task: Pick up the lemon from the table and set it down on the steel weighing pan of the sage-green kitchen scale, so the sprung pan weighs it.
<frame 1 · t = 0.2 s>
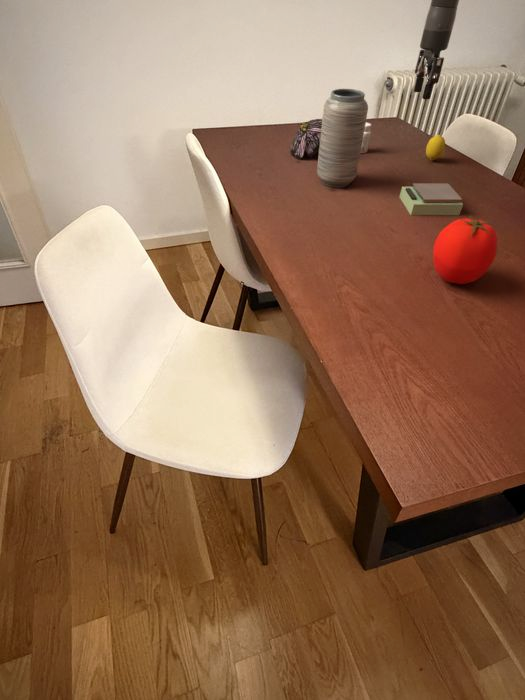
hand: (421, 95, 122), 18 cm above the table, tool pointing down, fingers open, 8 cm apart
lemon: (431, 161, 133), on the table
scale pan: (436, 192, 107), point 4 cm above the table, slide at 0.1 cm
decorative flower: (309, 154, 136), on the table
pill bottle: (360, 151, 139), on the table
vase: (335, 182, 120), on the table
scale: (428, 205, 109), on the table
tomato: (452, 278, 85), on the table
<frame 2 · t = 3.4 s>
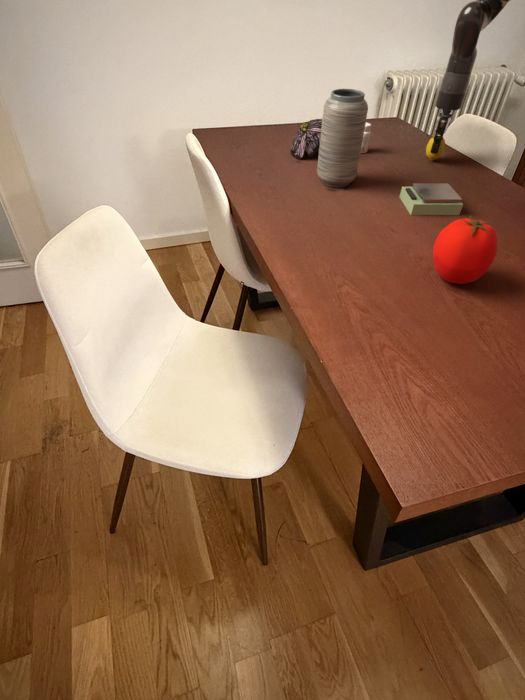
hand: (434, 149, 131), 4 cm above the table, tool pointing down, fingers closed on lemon, 5 cm apart
lemon: (431, 161, 133), on the table, touching gripper
everything else where it was.
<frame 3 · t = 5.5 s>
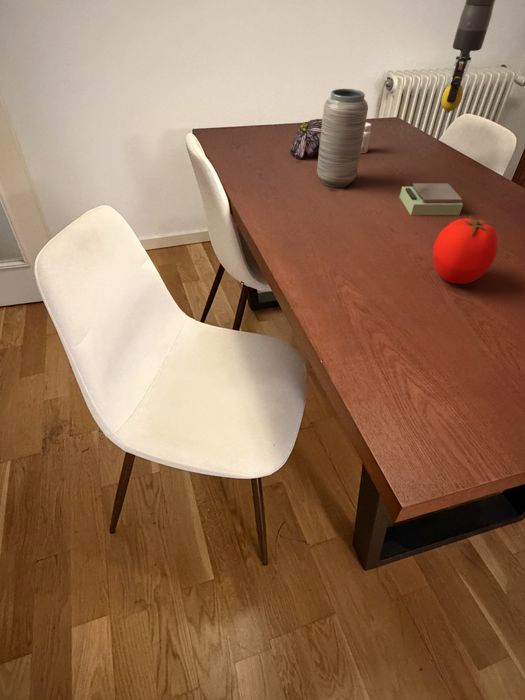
hand: (451, 99, 119), 18 cm above the table, tool pointing down, fingers closed on lemon, 5 cm apart
lemon: (447, 113, 121), point 14 cm above the table, touching gripper
everything else where it was.
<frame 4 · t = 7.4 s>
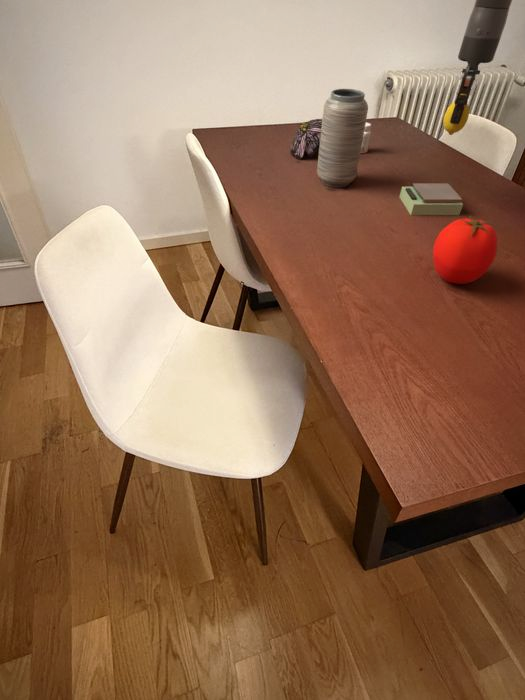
hand: (455, 119, 99), 20 cm above the table, tool pointing down, fingers closed on lemon, 5 cm apart
lemon: (450, 135, 102), point 16 cm above the table, touching gripper
everything else where it was.
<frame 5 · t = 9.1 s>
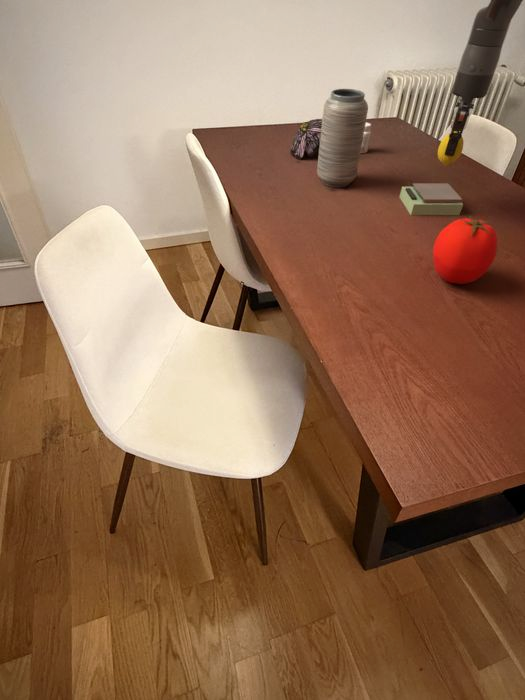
hand: (450, 151, 99), 14 cm above the table, tool pointing down, fingers closed on lemon, 5 cm apart
lemon: (444, 166, 102), point 10 cm above the table, touching gripper
everything else where it was.
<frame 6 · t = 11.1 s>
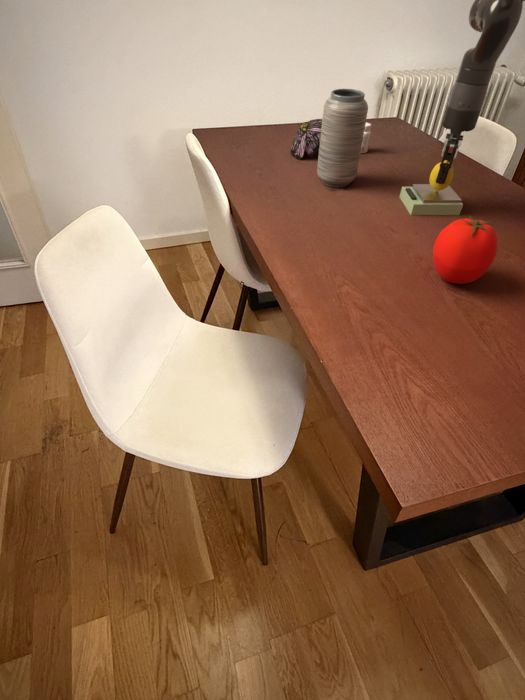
hand: (441, 178, 104), 7 cm above the table, tool pointing down, fingers closed on lemon, 5 cm apart
lemon: (436, 192, 107), point 4 cm above the table, touching gripper, scale pan
scale pan: (435, 193, 107), point 3 cm above the table, slide at -0.1 cm, touching lemon
everything else where it was.
when the fingers open (7 cm above the table, at t = 11.2 s): lemon stays where it is, resting on scale pan.
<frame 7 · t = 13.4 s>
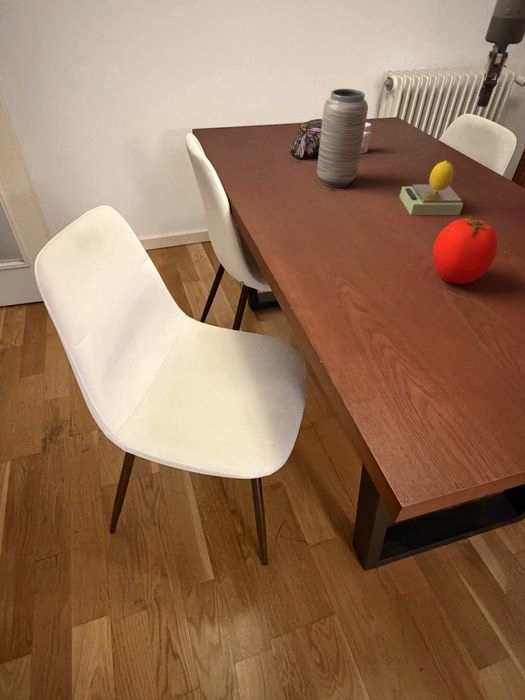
hand: (482, 101, 96), 24 cm above the table, tool pointing down, fingers open, 8 cm apart
lemon: (436, 192, 107), point 4 cm above the table, touching scale pan
scale pan: (435, 193, 107), point 3 cm above the table, slide at -0.2 cm, touching lemon, scale
everything else where it was.
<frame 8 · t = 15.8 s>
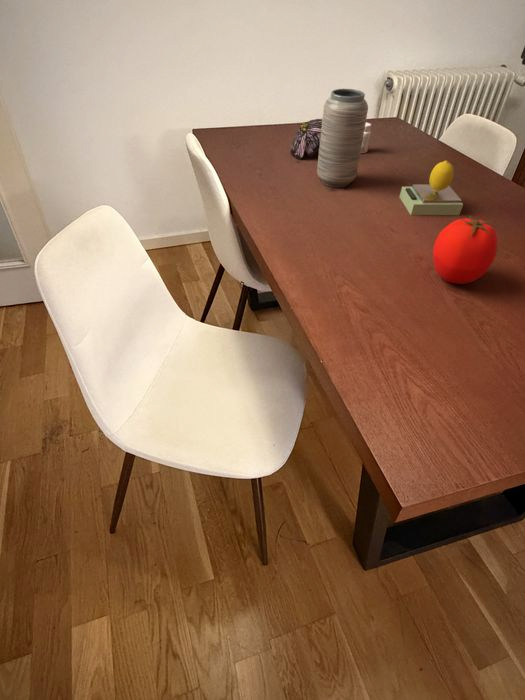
nothing on the table moved.
at the end: lemon inside the target area on the scale (0.0 cm from its centre), point 3.6 cm above the scale's base; lemon touching scale pan; the gripper is holding nothing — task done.
